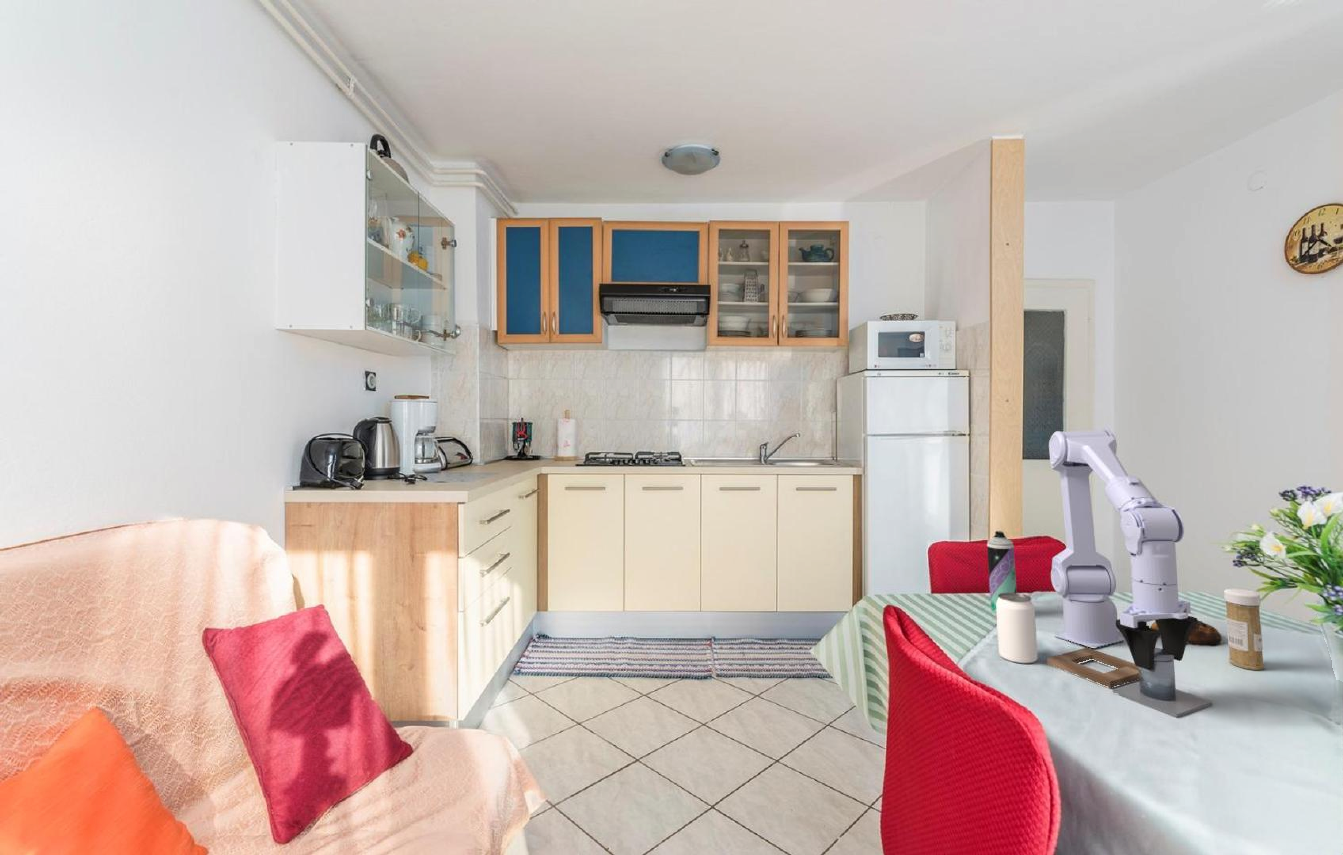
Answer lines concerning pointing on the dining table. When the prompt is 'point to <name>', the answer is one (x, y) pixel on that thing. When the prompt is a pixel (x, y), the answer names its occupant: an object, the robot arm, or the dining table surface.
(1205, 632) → the bread roll
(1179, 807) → the dining table surface
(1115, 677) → the collar
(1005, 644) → the can
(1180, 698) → the coaster
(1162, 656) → the grey metal cylinder
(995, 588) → the spray can
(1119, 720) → the dining table surface
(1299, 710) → the dining table surface
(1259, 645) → the sprinkles bottle
